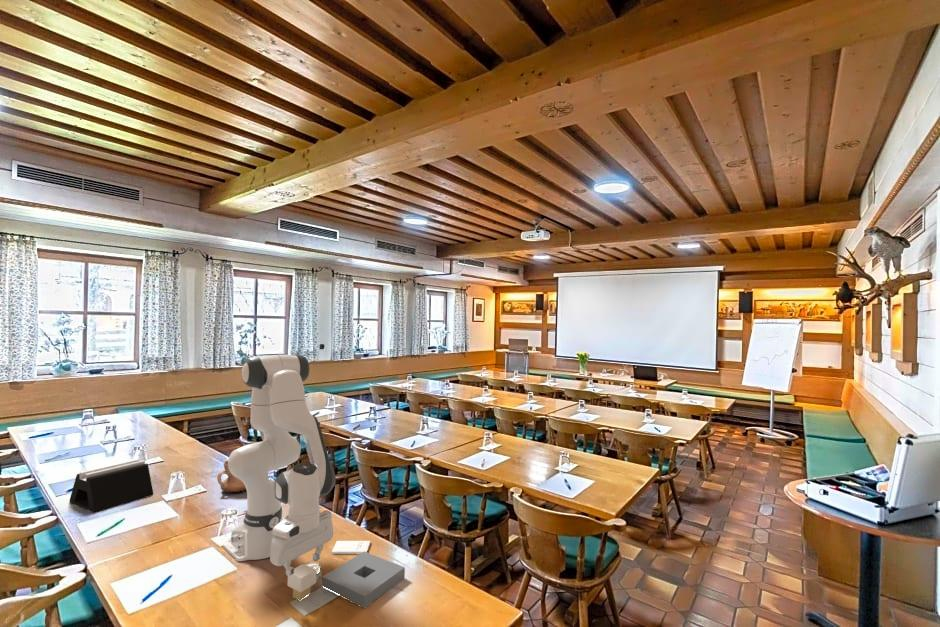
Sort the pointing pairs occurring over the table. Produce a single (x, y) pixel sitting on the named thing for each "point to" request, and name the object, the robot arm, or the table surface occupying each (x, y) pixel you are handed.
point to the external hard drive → (350, 547)
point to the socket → (361, 589)
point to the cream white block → (302, 581)
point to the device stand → (111, 485)
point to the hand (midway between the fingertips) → (303, 567)
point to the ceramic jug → (230, 481)
